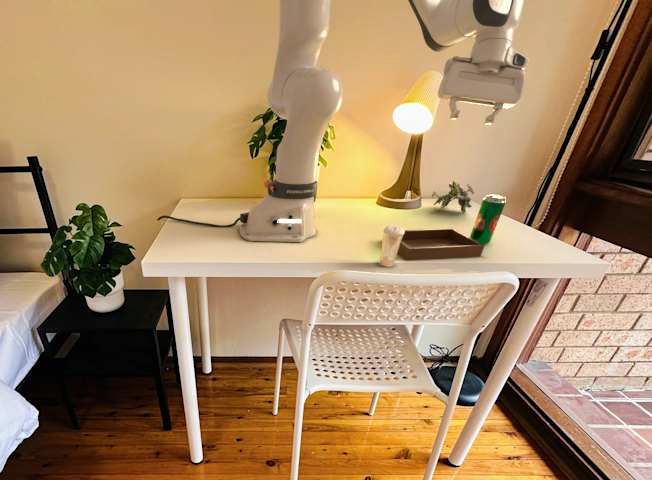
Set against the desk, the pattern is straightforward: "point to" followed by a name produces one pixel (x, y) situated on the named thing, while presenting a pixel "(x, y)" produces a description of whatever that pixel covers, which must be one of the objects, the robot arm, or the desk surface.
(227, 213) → the desk surface
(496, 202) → the soda can
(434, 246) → the tray
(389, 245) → the milkshake
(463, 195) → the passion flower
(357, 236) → the desk surface
